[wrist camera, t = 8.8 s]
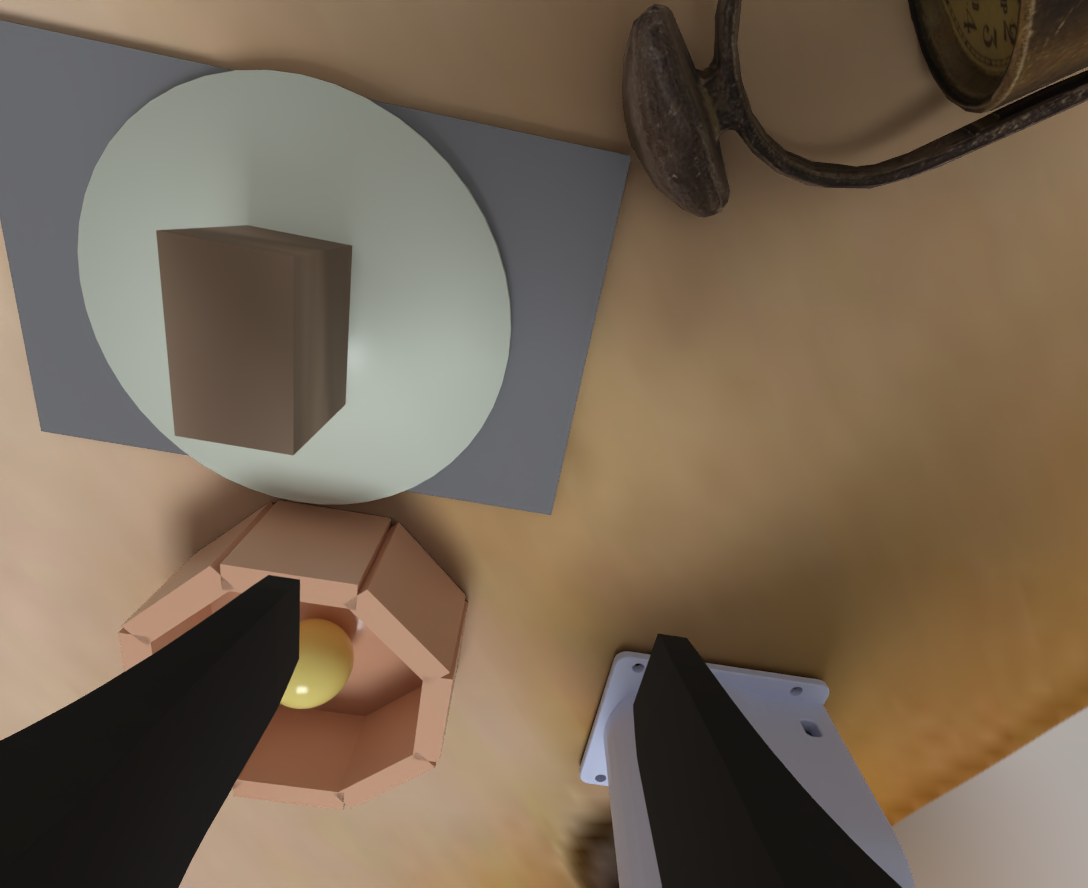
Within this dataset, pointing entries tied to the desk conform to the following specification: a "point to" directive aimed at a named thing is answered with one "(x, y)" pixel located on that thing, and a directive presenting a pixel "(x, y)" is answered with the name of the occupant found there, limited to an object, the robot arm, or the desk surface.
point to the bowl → (330, 648)
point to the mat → (470, 148)
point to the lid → (294, 287)
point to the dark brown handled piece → (721, 104)
